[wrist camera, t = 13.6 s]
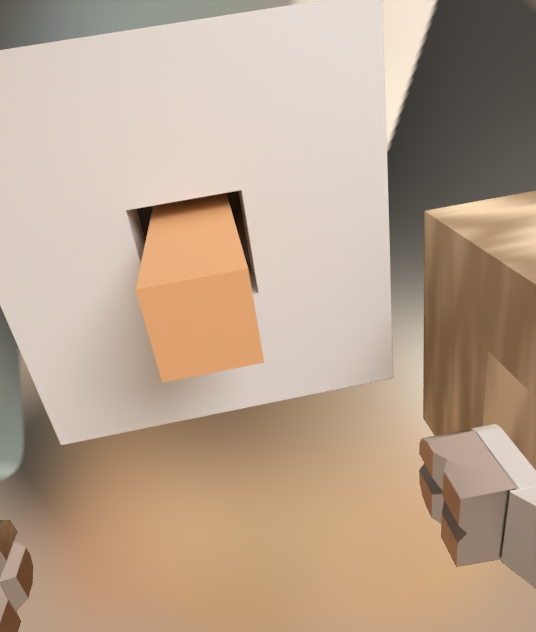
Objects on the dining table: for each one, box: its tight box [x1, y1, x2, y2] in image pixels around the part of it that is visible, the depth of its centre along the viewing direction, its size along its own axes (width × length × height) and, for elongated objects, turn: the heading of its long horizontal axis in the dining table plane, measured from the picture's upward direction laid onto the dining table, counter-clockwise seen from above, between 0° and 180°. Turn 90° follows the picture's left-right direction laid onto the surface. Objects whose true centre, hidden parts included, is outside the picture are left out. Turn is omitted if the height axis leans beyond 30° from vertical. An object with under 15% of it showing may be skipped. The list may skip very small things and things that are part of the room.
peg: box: [135, 193, 264, 383], centre depth 21 cm, size 4×4×10 cm
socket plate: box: [0, 0, 393, 445], centre depth 24 cm, size 18×18×3 cm
